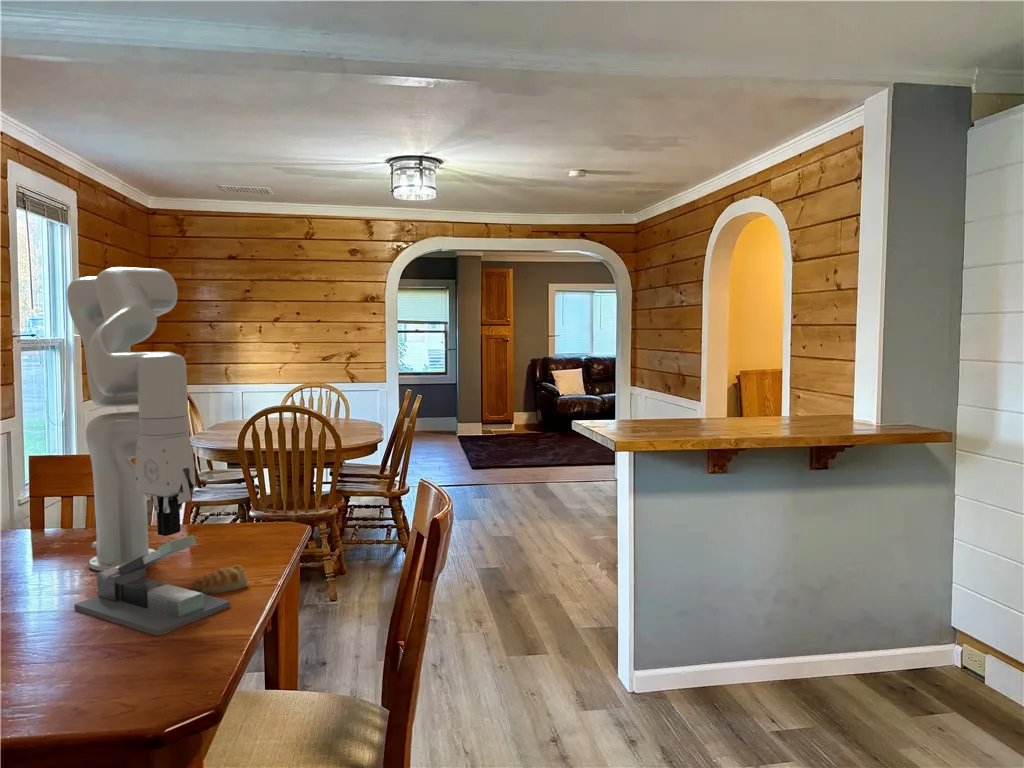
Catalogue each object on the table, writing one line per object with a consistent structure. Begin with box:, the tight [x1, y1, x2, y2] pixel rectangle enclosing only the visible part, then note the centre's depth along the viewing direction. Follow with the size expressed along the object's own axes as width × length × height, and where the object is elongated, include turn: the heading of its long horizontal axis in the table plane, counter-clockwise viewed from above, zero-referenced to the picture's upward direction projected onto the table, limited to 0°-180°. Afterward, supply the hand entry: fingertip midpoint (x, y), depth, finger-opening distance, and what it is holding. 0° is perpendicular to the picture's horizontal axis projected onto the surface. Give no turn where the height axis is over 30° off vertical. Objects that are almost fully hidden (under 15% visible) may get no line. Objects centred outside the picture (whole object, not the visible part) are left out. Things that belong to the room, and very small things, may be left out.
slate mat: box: [73, 594, 231, 637], centre depth 127 cm, size 23×14×1 cm, turn 61°
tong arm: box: [119, 534, 197, 576], centre depth 126 cm, size 16×5×2 cm, turn 60°
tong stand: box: [96, 563, 204, 619], centre depth 127 cm, size 22×6×5 cm, turn 61°
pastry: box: [191, 564, 248, 595], centre depth 137 cm, size 9×7×4 cm
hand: (169, 533), depth 124 cm, fingers closed
